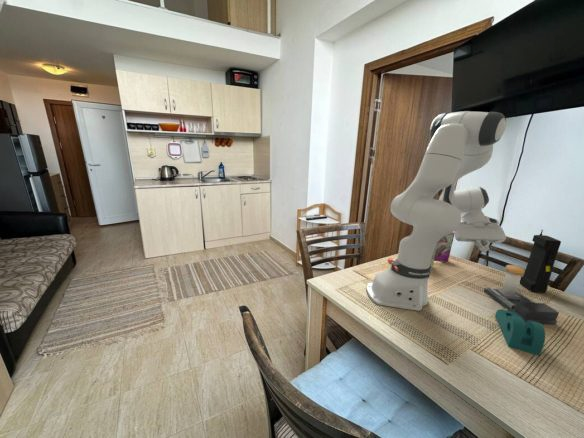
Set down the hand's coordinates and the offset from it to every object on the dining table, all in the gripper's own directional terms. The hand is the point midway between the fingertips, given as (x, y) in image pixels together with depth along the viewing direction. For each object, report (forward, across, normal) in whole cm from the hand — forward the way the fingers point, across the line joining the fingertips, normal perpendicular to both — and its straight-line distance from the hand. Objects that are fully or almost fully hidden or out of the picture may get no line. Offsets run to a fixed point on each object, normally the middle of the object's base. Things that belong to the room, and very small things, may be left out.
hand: (484, 250), depth 105 cm
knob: (+20, 0, -3) cm, 20 cm away
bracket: (+34, -12, -14) cm, 39 cm away
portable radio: (+15, +18, +5) cm, 24 cm away
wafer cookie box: (-4, -9, +23) cm, 25 cm away
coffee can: (+2, -20, +18) cm, 27 cm away
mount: (+24, 0, -5) cm, 24 cm away
